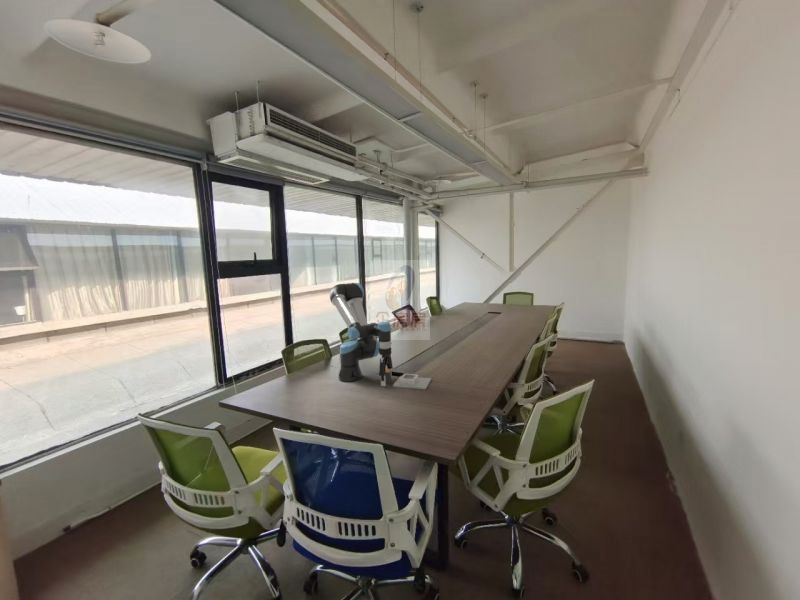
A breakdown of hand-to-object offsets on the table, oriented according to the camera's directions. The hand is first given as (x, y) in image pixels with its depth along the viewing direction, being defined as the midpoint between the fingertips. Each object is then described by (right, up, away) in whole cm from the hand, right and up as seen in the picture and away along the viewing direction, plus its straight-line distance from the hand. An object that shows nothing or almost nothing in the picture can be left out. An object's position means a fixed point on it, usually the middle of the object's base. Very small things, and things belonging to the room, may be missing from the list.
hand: (386, 382), depth 206 cm
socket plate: (+16, 0, -3) cm, 16 cm away
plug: (0, 0, 0) cm, 0 cm away
